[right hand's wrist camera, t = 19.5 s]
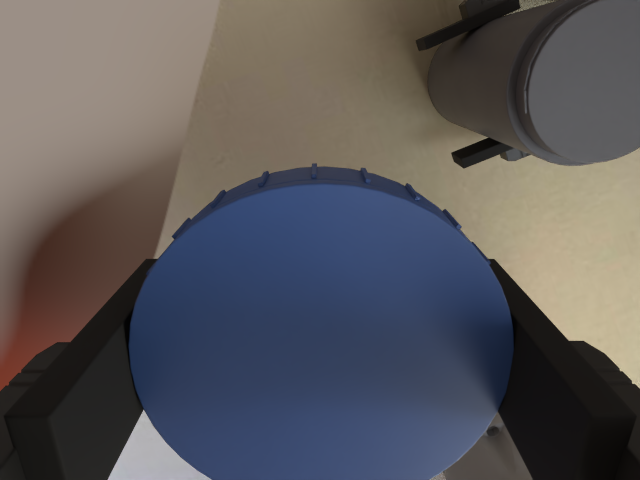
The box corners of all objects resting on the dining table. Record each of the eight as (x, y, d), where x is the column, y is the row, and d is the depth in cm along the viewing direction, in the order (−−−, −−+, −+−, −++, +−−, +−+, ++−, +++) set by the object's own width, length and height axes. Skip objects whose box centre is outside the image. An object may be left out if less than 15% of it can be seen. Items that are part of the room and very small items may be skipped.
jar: (521, 14, 37) (708, -38, 19) (526, 115, 40) (693, 152, 22) (421, 37, 37) (512, 8, 20) (433, 135, 40) (523, 187, 22)
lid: (129, 423, 13) (103, 471, 12) (181, 114, 10) (157, 123, 9) (419, 485, 14) (432, 538, 13) (550, 220, 11) (589, 246, 9)
